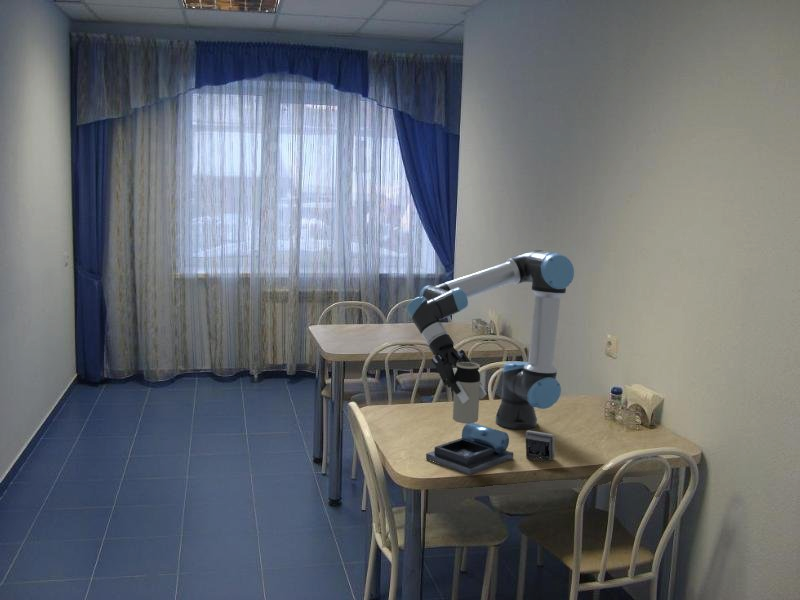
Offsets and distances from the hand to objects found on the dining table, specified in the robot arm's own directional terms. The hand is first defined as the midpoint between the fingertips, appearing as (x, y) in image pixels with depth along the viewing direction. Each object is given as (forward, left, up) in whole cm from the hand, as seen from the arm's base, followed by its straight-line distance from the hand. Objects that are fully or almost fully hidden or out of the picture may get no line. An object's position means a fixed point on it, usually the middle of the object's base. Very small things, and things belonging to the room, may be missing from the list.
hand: (474, 398), depth 247 cm
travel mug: (0, -3, -8) cm, 9 cm away
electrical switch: (-20, +12, -21) cm, 32 cm away
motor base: (-3, -3, -21) cm, 22 cm away
